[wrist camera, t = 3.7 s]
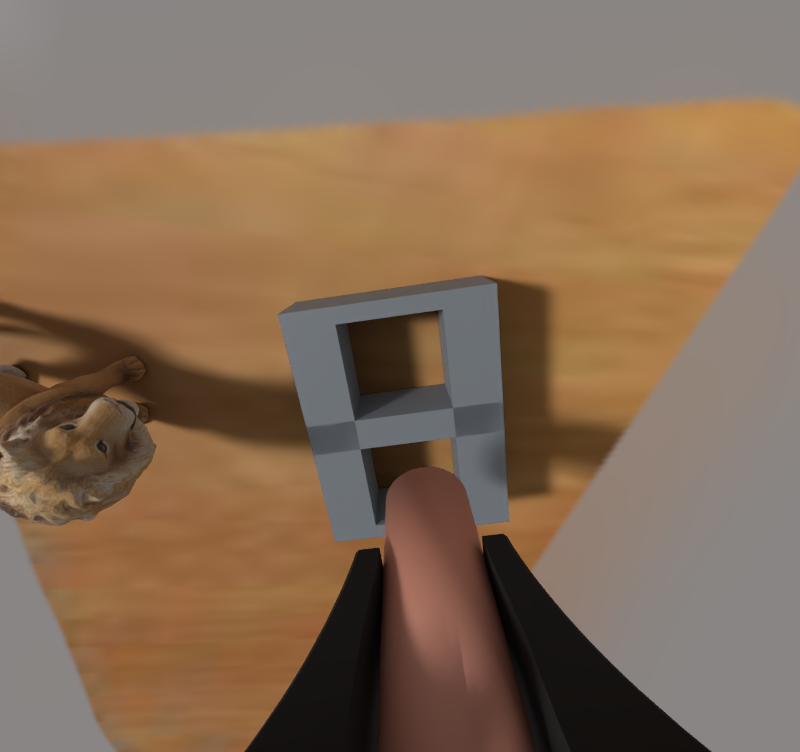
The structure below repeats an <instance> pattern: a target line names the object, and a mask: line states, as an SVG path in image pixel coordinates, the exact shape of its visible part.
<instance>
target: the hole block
mask: <svg viewBox="0 0 800 752" xmlns="http://www.w3.org/2000/svg"><path fill="white" fill-rule="evenodd" d="M436 310H437V313H438V322H439V332H440V341H441V351H442V360H443V369H444V379H445V384H440V385H432V386H425V387H417V388H410V389H402V390H395V391H387V392H380V393H372V394H365V395H360V390H359V385H358V380H357V375H356V369H355V364H354V359H353V354H352V348H351V343H350V338H349V333H348V327H347V323H351V322H358V321H365V320H372V319H379V318H386V317H393V316H400V315H407V314H415V313H422V312H429V311H436ZM278 318H279V322H280V326H281V330H282V334H283V337H284V341H285V345H286V349H287V353H288V357H289V361H290V365H291V369H292V373H293V377H294V381H295V385H296V389H297V393H298V397H299V401H300V405H301V409H302V413H303V416H304V420H305V424H306V428H307V432H308V436H309V440H310V444H311V448H312V452H313V456H314V460H315V464H316V468H317V472H318V476H319V480H320V484H321V488H322V492H323V495H324V499H325V503H326V507H327V511H328V515H329V519H330V523H331V527H332V531H333V535H334V539H335V542H340V541H349V540H357V539H366V538H374V537H383V536H385V512H386V496H387V492H388V490H389V488H390V487H389V488H381V489H378V484H377V479H376V474H375V469H374V463H373V458H372V453H371V448H375V447H383V446H391V445H399V444H406V443H414V442H422V441H430V440H438V439H446V438H451V445H452V454H453V463H454V473H455V476H456V477H457V478H458V479H459V480H460V481H461V482H462V483H463V485H464V487H465V489H466V492H467V495H468V499H469V503H470V506H471V510H472V514H473V517H474V521H475V525H484V524H492V523H501V522H509V511H508V491H507V471H506V451H505V431H504V411H503V392H502V372H501V352H500V332H499V312H498V292H497V283H496V282H494V281H492V280H489V279H487V278H485V277H483V276H475V277H468V278H462V279H455V280H448V281H441V282H434V283H427V284H420V285H413V286H406V287H399V288H392V289H385V290H378V291H371V292H364V293H357V294H350V295H343V296H336V297H329V298H323V299H316V300H309V301H302V302H295V303H294V304H293V305H291V306H290V307H288V308H287V309H285V310H284V311H282V312H281V313H279V314H278Z"/></svg>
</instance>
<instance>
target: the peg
mask: <svg viewBox="0 0 800 752" xmlns="http://www.w3.org/2000/svg"><path fill="white" fill-rule="evenodd" d="M376 752H537V751H536V747H535V743H534V740H533V736H532V732H531V729H530V725H529V721H528V717H527V714H526V710H525V706H524V703H523V699H522V695H521V692H520V688H519V684H518V680H517V677H516V673H515V669H514V666H513V662H512V658H511V655H510V651H509V647H508V643H507V640H506V636H505V632H504V629H503V625H502V621H501V617H500V614H499V610H498V606H497V603H496V599H495V595H494V592H493V589H492V585H491V581H490V578H489V574H488V570H487V567H486V563H485V559H484V555H483V551H482V547H481V543H480V540H479V536H478V532H477V529H476V525H475V521H474V517H473V514H472V510H471V506H470V503H469V499H468V495H467V492H466V489H465V487H464V485H463V483H462V482H461V481H460V480H459V479H458V478H457V477H456V476H455V475H454V474H452V473H450V472H449V471H446V470H444V469H440V468H435V467H421V468H416V469H412V470H410V471H407V472H405V473H404V474H402V475H400V476H399V477H398V478H397V479H396V480H395V481H394V482H393V483H392V484H391V486H390V488H389V490H388V492H387V496H386V512H385V539H384V565H383V592H382V618H381V644H380V671H379V697H378V723H377V750H376Z"/></svg>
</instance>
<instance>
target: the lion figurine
mask: <svg viewBox="0 0 800 752" xmlns="http://www.w3.org/2000/svg"><path fill="white" fill-rule="evenodd" d="M145 372H146V369H145V367H144V364H143V363H142V362H141V361H140V360H139V359H138V357H136V356H130V357H126V358H124V359H121V360H118V361H116V362H113V363H112V364H110V365H109V366H107V367H106V368H104V369H103V370H101V371H98V372H94V373H92V374H87V375H83V376H79V377H77V378H74V379H72V380H69V381H66V382H63V383H59V384H56V385H54V386H52V387H51V388H47V387H44V386H42V385H40V384H37V383H35V382H33V381H30V380H28V379H27V376H26V374H25V373H24V372H23V371H22V370H20V369H18V368H16V367H14V366H10V365H0V509H1V510H4V511H5V512H6V513H8V514H9V515H11V516H13V517H21V518H25V519H27V520H30V521H31V522H33V523H38V524H45V525H54V526H60V525H63V524H66V523H68V522H69V521H71V520H75V519H80V520H83V521H90V520H92V519H94V518H95V517H96V515H97V514H98V513H99V512H100V511H102V510H104V509H106V508H108V507H110V506H112V505H113V504H115V503H116V502H118V501H119V500H121V499H122V498H124V497H126V496H127V495H128V494H129V492H130V491H131V489H132V487H133V485H134V483H135V481H136V479H137V478H139V477H140V475H141V474H142V472H143V471H144V470H145V469H146V468H147V467H148V465H149V464H150V462H151V461H152V458H153V455H154V452H155V448H156V444H154V443H153V440H152V439H151V437H150V434H149V432H148V429H147V428H146V427H145V425H144V424H143V423H144V422H145V421H146V420H147V419H148V418H149V415H148V410H147V408H146V407H144V406H142V405H139V404H135V403H134V402H132V401H130V400H116V399H114V398H110V397H107V396H105V395H103V394H104V393H105V392H106V391H107V390H108V389H109V388H111V387H114V386H117V385H120V384H124V383H125V382H126V381H128V380H138V379H140V378H142V377H143V375H144V373H145Z"/></svg>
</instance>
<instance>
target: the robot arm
mask: <svg viewBox="0 0 800 752" xmlns="http://www.w3.org/2000/svg"><path fill="white" fill-rule="evenodd" d="M482 542H483V555H484V559H485V563H486V567H487V570H488V574H489V578H490V581H491V585H492V589H493V592H494V595H495V599H496V603H497V606H498V610H499V614H500V617H501V621H502V625H503V629H504V632H505V636H506V640H507V643H508V647H509V651H510V655H511V658H512V662H513V666H514V669H515V673H516V677H517V680H518V684H519V688H520V692H521V695H522V699H523V703H524V706H525V710H526V714H527V717H528V721H529V725H530V729H531V732H532V736H533V740H534V743H535V747H536V751H537V752H711V751H710V750H709V749H708V748H706V747H705V746H704V745H703V744H701V743H700V742H699V741H698V740H697V739H695V738H694V737H693V736H692V735H690V734H689V733H688V732H687V731H685V730H684V729H683V728H682V727H681V726H680V725H678V723H676V722H675V721H674V720H673V719H672V718H671V717H670V716H668V715H667V714H666V713H665V712H664V711H663V710H662V709H660V708H659V707H658V706H657V705H656V704H655V703H654V702H652V701H651V700H650V699H649V698H648V697H647V696H646V695H644V694H643V693H642V692H641V691H640V690H639V689H638V688H637V687H636V686H634V685H633V684H632V683H631V682H630V681H629V680H628V679H627V678H626V677H625V676H624V675H623V674H622V673H621V672H620V671H619V670H618V669H617V668H616V667H615V666H613V665H612V664H611V662H610V661H608V659H606V658H605V657H604V656H603V654H601V652H600V651H599V650H598V649H597V648H596V647H595V646H594V645H593V644H592V643H591V642H590V641H589V640H588V639H587V638H586V637H585V636H584V635H583V634H582V633H581V631H579V629H578V628H577V627H576V626H575V625H574V624H573V623H572V621H571V620H570V619H569V618H568V617H567V616H566V615H565V614H564V612H563V611H562V610H561V609H560V608H559V607H558V605H557V604H556V603H555V602H554V601H553V599H552V598H551V597H550V596H549V594H548V593H547V592H546V591H545V589H544V588H543V587H542V586H541V584H539V582H538V581H537V579H536V578H535V577H534V575H533V574H532V573H531V571H530V570H529V569H528V567H527V566H526V565H525V563H524V562H523V560H522V559H521V558H520V556H519V555H518V553H517V552H516V550H515V549H514V547H513V546H512V544H511V542H510V541H509V539H508V537H507V536H505V535H504V534H497V535H488V536H482ZM382 592H383V564H382V559H381V554H380V549H379V548H372V549H363V550H358V552H357V553H356V554H355V557H354V560H353V563H352V565H351V568H350V570H349V573H348V575H347V578H346V580H345V583H344V585H343V587H342V589H341V592H340V594H339V596H338V598H337V600H336V602H335V605H334V607H333V609H332V611H331V613H330V615H329V617H328V619H327V621H326V623H325V625H324V627H323V629H322V631H321V633H320V634H319V636H318V638H317V640H316V642H315V644H314V645H313V647H312V649H311V651H310V653H309V655H308V656H307V658H306V660H305V662H304V663H303V665H302V667H301V668H300V670H299V672H298V673H297V675H296V677H295V678H294V680H293V682H292V683H291V685H290V686H289V688H288V689H287V691H286V693H285V694H284V696H283V697H282V699H281V700H280V702H279V703H278V705H277V706H276V708H275V709H274V711H273V712H272V714H271V715H270V717H269V718H268V719H267V721H266V722H265V724H264V725H263V727H262V728H261V730H260V731H259V732H258V734H257V735H256V737H255V738H254V739H253V741H252V742H251V744H250V745H249V746H248V748H247V749H246V750H245V751H244V752H376V750H377V723H378V697H379V671H380V644H381V618H382Z"/></svg>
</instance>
